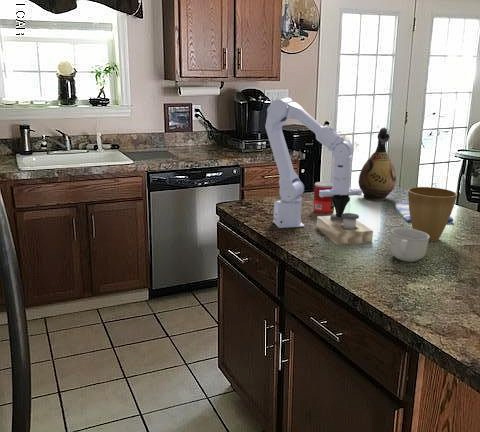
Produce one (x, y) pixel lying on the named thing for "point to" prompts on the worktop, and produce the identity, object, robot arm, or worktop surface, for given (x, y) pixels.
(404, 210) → the dish towel
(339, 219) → the knob rear
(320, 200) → the canned food
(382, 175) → the ceramic jug
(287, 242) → the worktop surface
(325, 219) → the knob mount
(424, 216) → the plant pot
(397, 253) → the teacup
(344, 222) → the knob front
